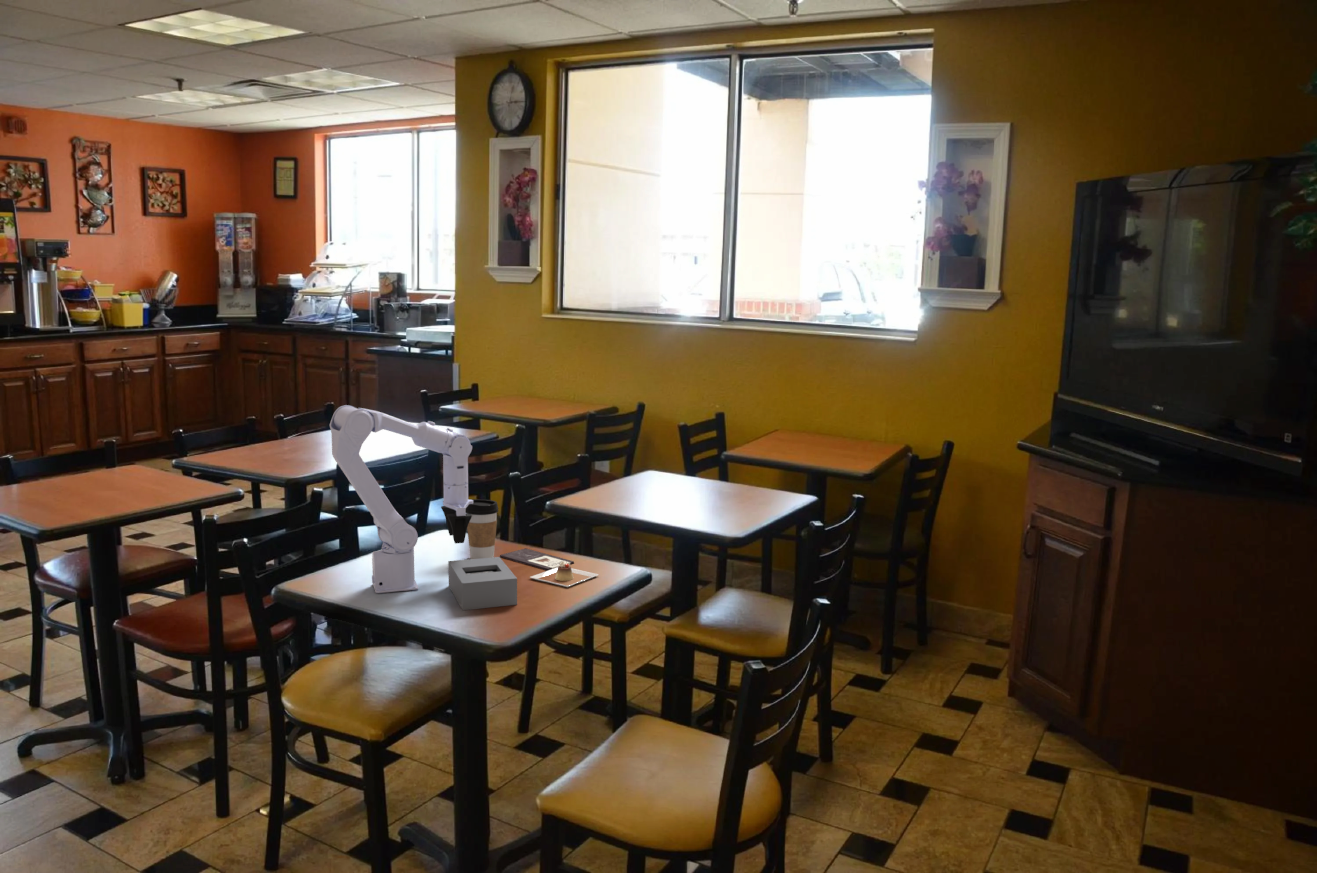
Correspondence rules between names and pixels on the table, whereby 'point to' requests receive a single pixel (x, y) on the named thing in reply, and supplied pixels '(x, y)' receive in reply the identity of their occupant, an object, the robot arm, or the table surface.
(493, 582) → the grey tissue box
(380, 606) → the table surface
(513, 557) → the chocolate bar
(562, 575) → the dessert
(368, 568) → the table surface
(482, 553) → the coffee cup
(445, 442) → the robot arm
